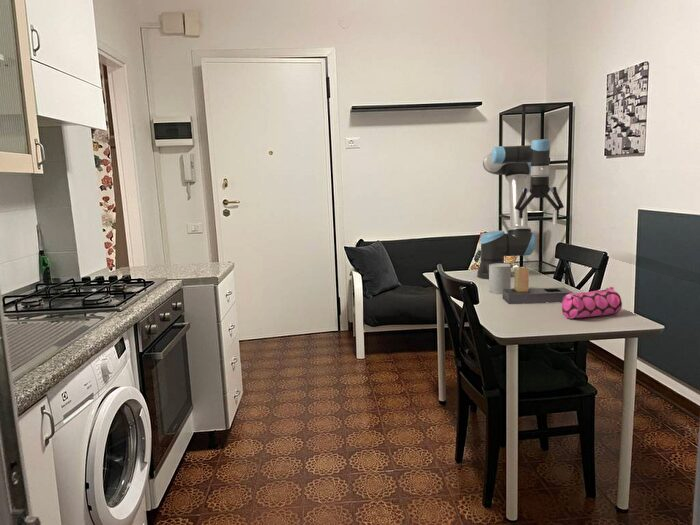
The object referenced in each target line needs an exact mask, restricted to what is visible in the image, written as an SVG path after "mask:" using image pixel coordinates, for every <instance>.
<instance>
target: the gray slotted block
mask: <svg viewBox="0 0 700 525" xmlns="http://www.w3.org/2000/svg"><path fill="white" fill-rule="evenodd" d="M570 293H574V292H573V291H571V290H570V289H568V288H566V287H564V286H563V287H538V288H537V287H536V288H534V287H531V288H529V287H528V293H515V292H514V288H511V289H503V294H502V300H504V301H505V302H506V303H507V304H508V305H515V304H517V305H519V304H521V305H522V304H523V303H525V304H547V303H546V302H560V303H562V301H563V298H564V297H565V296H566V295H567V294H570Z"/></svg>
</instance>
